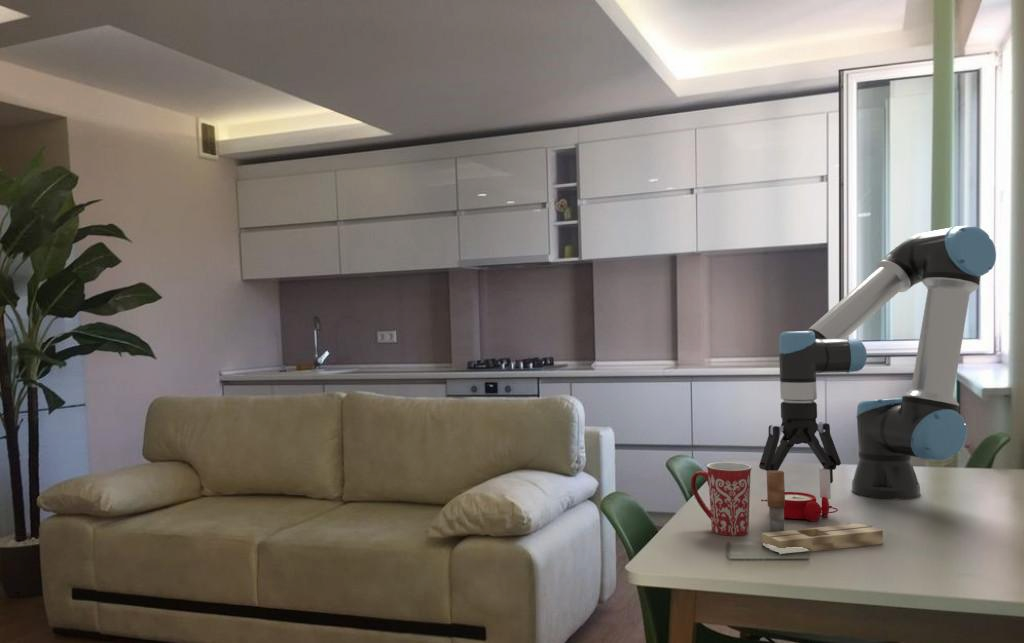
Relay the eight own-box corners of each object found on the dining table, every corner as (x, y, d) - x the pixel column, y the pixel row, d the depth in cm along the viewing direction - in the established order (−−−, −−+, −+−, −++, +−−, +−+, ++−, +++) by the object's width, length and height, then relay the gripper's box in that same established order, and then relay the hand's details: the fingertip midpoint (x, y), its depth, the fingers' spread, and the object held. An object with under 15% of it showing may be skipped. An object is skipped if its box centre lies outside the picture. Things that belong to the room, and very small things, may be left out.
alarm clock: (777, 490, 179) (840, 483, 169) (784, 517, 178) (847, 512, 168) (755, 498, 172) (819, 491, 162) (762, 526, 171) (827, 521, 161)
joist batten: (861, 535, 153) (861, 522, 153) (883, 543, 147) (882, 530, 147) (762, 546, 147) (761, 532, 147) (780, 554, 142) (779, 540, 142)
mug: (760, 529, 160) (758, 464, 160) (744, 539, 152) (741, 471, 153) (702, 521, 167) (700, 459, 167) (684, 530, 160) (682, 465, 160)
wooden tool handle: (779, 527, 160) (777, 469, 161) (789, 531, 157) (787, 472, 157) (765, 529, 160) (763, 471, 160) (774, 533, 156) (772, 473, 156)
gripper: (834, 397, 177) (837, 492, 176) (740, 402, 171) (743, 500, 171) (856, 400, 169) (859, 499, 169) (759, 404, 164) (762, 507, 163)
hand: (801, 500), depth 170 cm, fingers closed on alarm clock, 11 cm apart
